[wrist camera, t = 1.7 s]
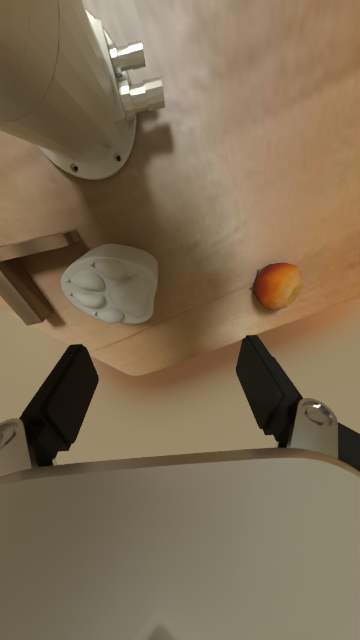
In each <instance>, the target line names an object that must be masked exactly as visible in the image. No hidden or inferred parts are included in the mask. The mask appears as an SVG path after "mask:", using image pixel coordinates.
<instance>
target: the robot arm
mask: <svg viewBox="0 0 360 640" xmlns="http://www.w3.org/2000/svg"><path fill="white" fill-rule="evenodd" d="M143 67H146V65H145V59H144V53H143V47H142V42H141V40H140V41H136V42H132V43H129V44H128V45H127V46H123V47H119V48H117V47H116V45H115V43H114V42H113V41H112V39H111V37H110V36H109V34H108V32H107V31H106V30H105V29H104V27H103V26H102V24H101V21H100V20H99V19H96V18H95V17H94V16H93V15H92V14H91V13H90V12H89V11H87V10H86V9H85V8H84V6H83V3H82V1H81V0H0V130H1V131H4V132H6V133H9V134H11V135H13V136H16V137H18V138H21V139H23V140H26V141H28V142H31V143H33V144H36V145H37V147H38V148H39V149H40V150H41V151H42V152H43V154H44V155H45V156H46V157H47V158H48V159H50V160H51V161H52V162H53V163H54V164H55V165H56V166H58V167H59V168H61V169H62V170H64V171H65V172H67V173H69V174H71V175H73V176H75V177H78V178H82V179H87V180H102V179H106V178H108V177H111V176H113V175H114V174H115V173H117V172H118V171H119V170H120V169H121V168H122V167H123V166H124V165H125V163H126V162H127V160H128V158H129V156H130V154H131V151H132V148H133V145H134V142H135V135H136V113H137V112H141V111H145V110H148V111H153V110H157V109H160V108H164V107H165V103H164V94H163V87H162V81H161V77H157V78H153V79H149V80H145V81H143V83H140V84H137V85H133V86H132V85H131V82H130V78H129V75H128V72H127V70H130V69H133V70H135V69H139V68H143ZM118 156H120V158H121V160H120V161H118V160H117V157H118ZM76 166H77V167H78V171H76V170H75V167H76ZM236 373H237V376H238V378H239V381H240V383H241V385H242V388H243V390H244V392H245V395H246V397H247V400H248V402H249V405H250V407H251V410H252V412H253V414H254V417H255V419H256V422H257V424H258V426H259V428H260V429H263V431H264V433H265V435H274V437H275V440H276V441H277V443H276V447H275V448H263V449H244V450H231V451H218V452H205V453H192V454H179V455H167V456H155V457H143V458H132V459H131V458H130V459H119V460H108V461H97V462H86V463H85V462H84V463H74V464H64V465H57V463H56V460H55V457H56V455H57V453H58V451H69V448H70V446H71V444H73V443H74V442H75V440H76V438H77V435H78V433H79V430H80V428H81V425H82V422H83V420H84V417H85V415H86V412H87V410H88V407H89V405H90V402H91V399H92V397H93V394H94V392H95V389H96V387H97V384H98V380H99V378H98V375H97V372H96V370H95V367H94V365H93V362H92V360H91V358H90V355H89V353H88V350H87V348H86V347H84V346H83V345H82V344H76V345H70V346H69V347H68V348H67V350H66V351H65V353H64V354H63V356H62V357H61V359H60V360H59V361H58V363H57V364H56V366H55V367H54V369H53V370H52V371H51V373H50V374H49V376H48V377H47V379H46V380H45V381H44V383H43V384H42V386H41V387H40V389H39V390H38V392H37V393H36V394H35V396H34V397H33V399H32V400H31V402H30V403H29V404H28V406H27V407H26V409H25V410H24V412H23V413H22V415H21V417H20V418H19V419H18V418H17V419H15V418H13V419H9V420H6V421H3V422H1V423H0V640H360V434H359V433H357V432H355V431H353V430H351V429H350V428H348V427H346V426H344V425H342V424H340V423H338V422H337V418H336V416H335V415H334V413H333V412H332V410H331V409H330V408H329V407H327V406H326V405H325V404H323V403H322V402H320V401H318V400H315V399H312V398H304V399H303V398H302V396H301V395H300V393H299V392H298V390H297V389H296V387H295V386H294V385H293V383H292V382H291V380H290V379H289V378H288V376H287V375H286V373H285V372H284V371H283V369H282V368H281V366H280V365H279V363H278V362H277V361H276V359H275V358H274V357H272V356H271V354H270V353H269V352H268V350H267V349H266V347H265V346H264V344H263V343H262V342H261V340H260V339H259V337H258V336H257V335H247V336H246V337H245V338H243V340H242V345H241V349H240V353H239V357H238V362H237V366H236Z"/></svg>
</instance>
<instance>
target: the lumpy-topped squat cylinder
mask: <svg viewBox="0 0 360 640" xmlns="http://www.w3.org/2000/svg"><path fill="white" fill-rule="evenodd" d="M157 286H158V263H157V261H156V259H155V258H154V257H153V256H152V255H151V254H150V253H148V252H146V251H144V250H141V249H138V248H134V247H131V246H126V245H121V244H112V243H108V244H104V245H101V246H98V247H95V248H93V249H91V250H90V251H88V252H87V253H86V254H84V255H83V256H82V257H80V258H79V259H78V260H76V261H75V262H74V263H72V264H71V265H70V266H69V267H68V268H67V269H66V271H65V272H64V273H63V275H62V277H61V287H62V290H63V292H64V294H65V295H66V297H67V298H68V299H69V300H70V301H71V302H72V303H73V304H74V305H75V306H76V307H77V308H79V309H80V310H82V311H83V312H85V313H87V314H89V315H90V316H92V317H94V318H97V319H100V320H103V321H104V322H106V323H109V324H115V323H132V324H136V323H142V322H145V321H147V320H148V319H149V318H150V317H151V316H152V314H153V311H154V299H155V292H156V290H157Z"/></svg>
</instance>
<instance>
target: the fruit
mask: <svg viewBox="0 0 360 640" xmlns="http://www.w3.org/2000/svg"><path fill="white" fill-rule="evenodd" d="M302 287H303V282H302V272H301V270H300V268H299V267H298V266H295V265H292V264H288V263H276V264H270V265H268V266H266V267H264V268H262V269H260V270H258V275H257V278H256V281H255V284H254V286H253V287H252V288H249V289H254V293H255V295H256V297H257V299H258V300H259V302H260V303H261V304H262V305H263V306H264V307H265V308H268V309H271V310H279V309H282V308H285V307H287V306H289V305H290V304H291V303H292V302H293V301H294V300H295V299H296V298H297V297H298V295H299V294H300V293H301V290H302Z"/></svg>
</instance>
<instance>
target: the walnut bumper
mask: <svg viewBox="0 0 360 640" xmlns="http://www.w3.org/2000/svg"><path fill="white" fill-rule="evenodd" d="M79 240H80V238H79V236H78V234H77V232H76V230H75V229H74V230H70V231H65V232H61V233H57V234H52V235H48V236H44V237H39V238H35V239H31V240H26V241H22V242H17V243H13V244H9V245H4V246H0V296H1V297H2V298H3V299H4V300H5V301H6V302H7V303H8V305H9V306H10V307H11V308H12V309H13V310H14V311H15V312H16V314H17V315H18V316H19V317H20V318H21V319H22V320H23V321H24V322H25V324H26V325H32V324H36V323H41V322H43V321H44V320H45V319H46V318H47V317H48V316H49V315H50V314H51V313H52V312H53V311H54V309H53V308H52V307H51V305H50V304H49V303H48V301H47V300H46V298H45V297H44V296H43V294H42V293H41V292H40V290H39V289H38V288H37V286H36V285H35V283H34V282H33V281H32V279H31V278H30V277H29V275H28V274H27V272H26V271H25V270H24V268H23V267H22V266H21V264H20V263H19V262H18V260H17V259H16V258H17V257H22V256H26V255H31V254H35V253H39V252H44V251H48V250H53V249H57V248H61V247H66V246H70V245H72V244H74V243H75V242H77V241H79Z"/></svg>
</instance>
